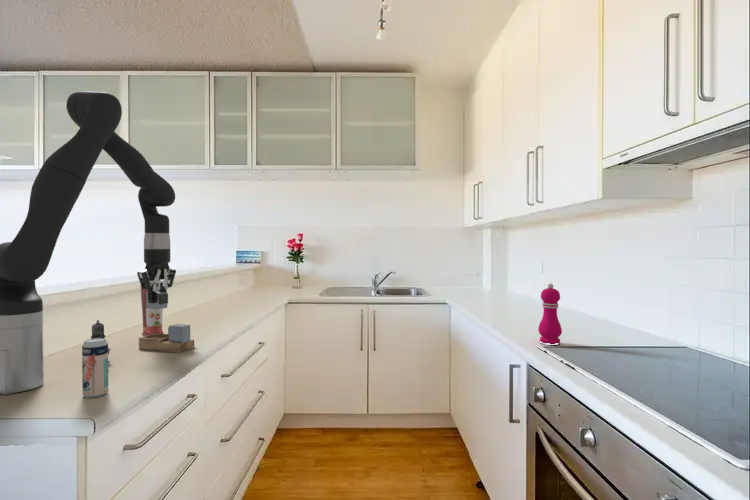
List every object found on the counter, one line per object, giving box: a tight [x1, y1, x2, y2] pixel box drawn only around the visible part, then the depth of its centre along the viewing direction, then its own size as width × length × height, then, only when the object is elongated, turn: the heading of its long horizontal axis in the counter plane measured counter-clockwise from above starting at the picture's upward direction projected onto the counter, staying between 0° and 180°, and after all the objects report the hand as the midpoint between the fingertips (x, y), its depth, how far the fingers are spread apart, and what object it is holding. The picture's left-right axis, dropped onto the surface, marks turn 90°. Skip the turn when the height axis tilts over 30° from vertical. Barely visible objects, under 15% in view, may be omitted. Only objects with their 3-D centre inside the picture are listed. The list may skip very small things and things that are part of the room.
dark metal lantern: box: [90, 319, 111, 364], centre depth 122 cm, size 6×6×12 cm
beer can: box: [81, 337, 109, 399], centre depth 97 cm, size 5×5×12 cm
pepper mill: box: [537, 283, 563, 344], centre depth 147 cm, size 7×7×20 cm
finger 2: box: [167, 323, 191, 343], centre depth 138 cm, size 4×6×5 cm, turn 72°
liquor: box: [140, 280, 164, 337], centre depth 155 cm, size 7×7×28 cm
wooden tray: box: [138, 333, 195, 354], centre depth 139 cm, size 7×15×4 cm, turn 72°
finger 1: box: [146, 291, 169, 309], centre depth 140 cm, size 4×6×5 cm, turn 72°
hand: (157, 302), depth 140 cm, fingers closed on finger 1, 3 cm apart
